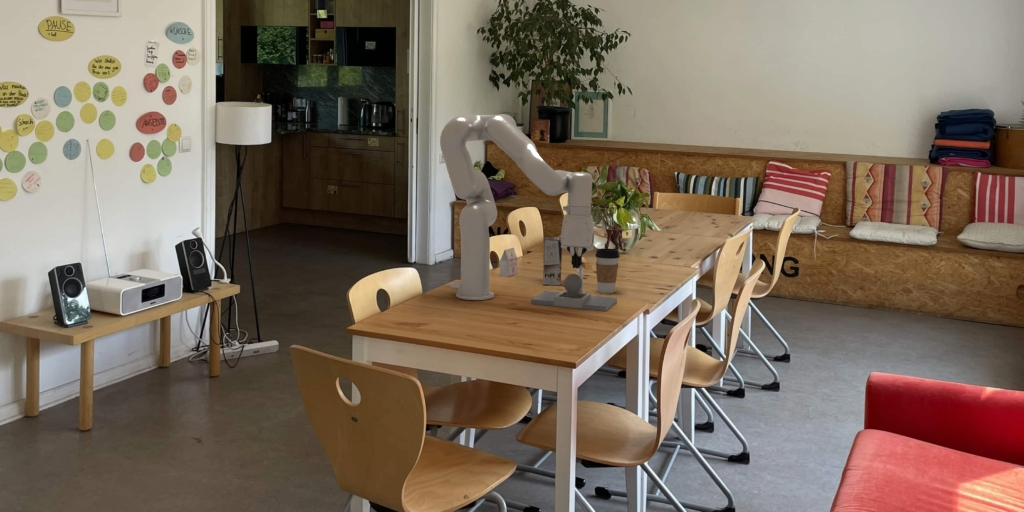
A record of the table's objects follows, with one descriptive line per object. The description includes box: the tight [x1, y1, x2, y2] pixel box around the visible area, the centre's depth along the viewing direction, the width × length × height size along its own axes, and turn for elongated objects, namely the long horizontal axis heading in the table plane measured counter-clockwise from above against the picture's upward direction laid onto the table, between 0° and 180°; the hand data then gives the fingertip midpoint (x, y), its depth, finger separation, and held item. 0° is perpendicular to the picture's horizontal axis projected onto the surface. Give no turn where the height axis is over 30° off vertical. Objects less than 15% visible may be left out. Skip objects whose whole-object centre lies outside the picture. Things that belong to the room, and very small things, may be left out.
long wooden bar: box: [581, 256, 592, 271], centre depth 308 cm, size 3×14×2 cm, turn 7°
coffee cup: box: [595, 247, 620, 294], centre depth 328 cm, size 8×8×15 cm
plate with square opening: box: [530, 266, 618, 312], centre depth 309 cm, size 25×14×12 cm, turn 70°
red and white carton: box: [499, 247, 519, 278], centre depth 354 cm, size 4×7×10 cm, turn 150°
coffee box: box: [542, 236, 563, 286], centre depth 341 cm, size 9×6×16 cm
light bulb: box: [563, 273, 582, 298], centre depth 307 cm, size 6×6×10 cm
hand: (576, 267), depth 306 cm, fingers closed
